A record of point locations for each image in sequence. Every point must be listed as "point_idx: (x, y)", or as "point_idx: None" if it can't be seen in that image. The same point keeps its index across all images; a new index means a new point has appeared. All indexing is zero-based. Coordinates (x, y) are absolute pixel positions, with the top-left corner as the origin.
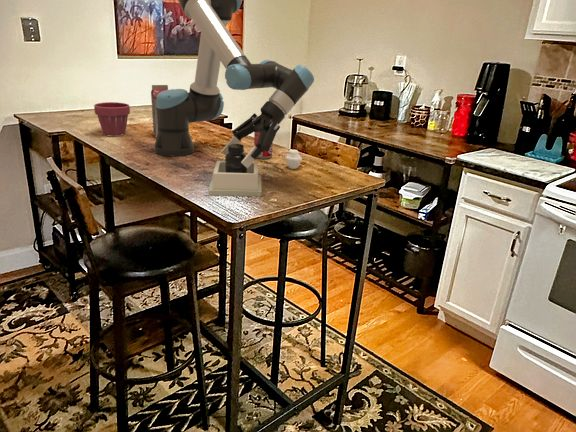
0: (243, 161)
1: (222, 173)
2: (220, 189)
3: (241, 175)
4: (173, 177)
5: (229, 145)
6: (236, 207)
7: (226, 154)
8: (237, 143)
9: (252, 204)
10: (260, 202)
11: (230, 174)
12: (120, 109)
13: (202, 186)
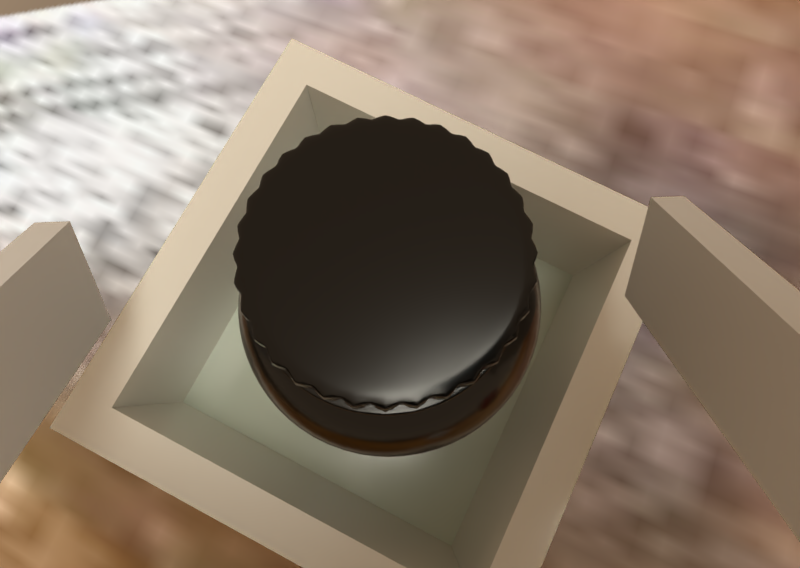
0: (19, 238)
1: (253, 111)
2: None
3: (153, 273)
4: (734, 16)
5: (454, 151)
6: (16, 172)
7: (638, 276)
8: (762, 470)
9: None
10: None
11: (210, 177)
12: None
13: (487, 123)
